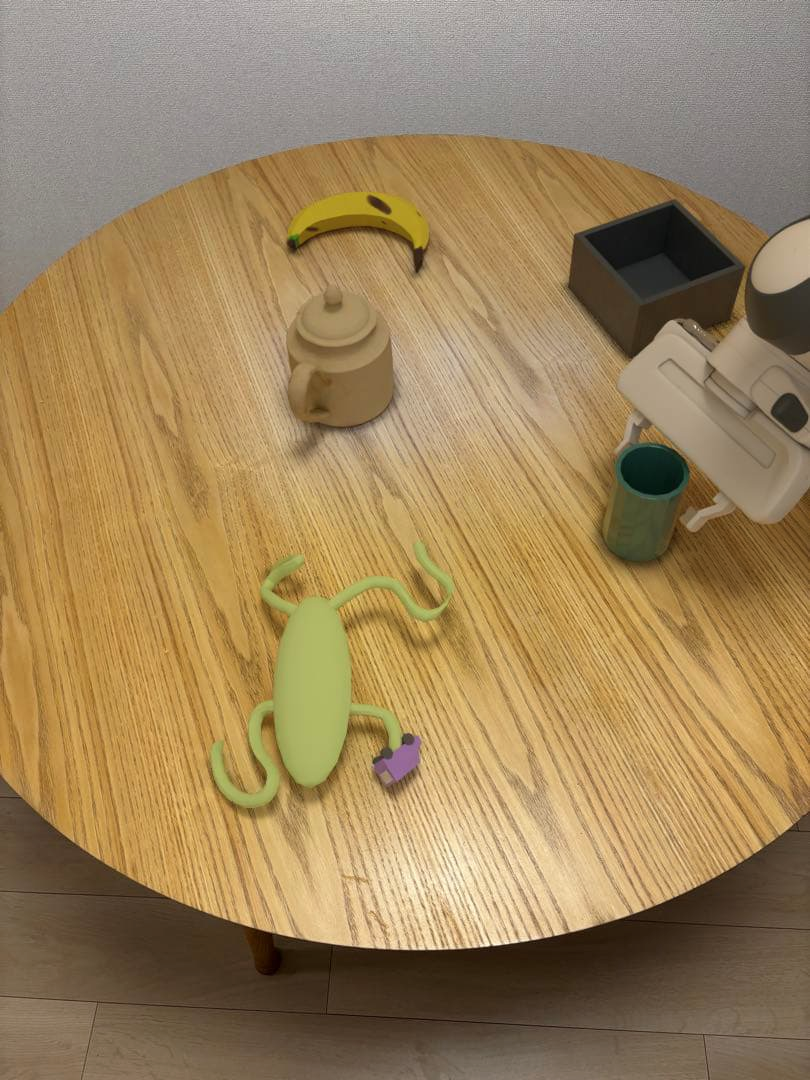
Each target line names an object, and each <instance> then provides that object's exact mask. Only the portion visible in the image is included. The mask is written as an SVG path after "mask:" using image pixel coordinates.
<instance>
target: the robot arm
mask: <svg viewBox="0 0 810 1080" xmlns="http://www.w3.org/2000/svg"><path fill="white" fill-rule="evenodd" d="M744 310H745V313H744V314H743V315H742V317H740V319H739V320H738V321H737V322H736V323H735V324H734V326H733V327H731V328H730V331H728V333H726V335H724V337H723V338H722V339H721V340H720V341H719V340H718V339H717V338H716V337H714V336H713V335H712V334H711V333H709V332H707V331H706V330H705V329H702V328H701V326H700V325H699V324H698V323H697V322H696V321H694V320H692V319H687V320H686V319H681V318H679V319H674V320H670V321H669V322H667V323H666V324H665V325H664V327H663V328H662V329H661V330H660V331H659V332H658V334H657V335H656V336H655V338H654V340H653V342H651V343H650V344H649V345H648V346H647V347H646V348H644V349H643V350H642V351H641V352H640V353H639V354H638V355H635V356H634V357H633V358H632V359H631V360H630V361H629V363H627V365H626V366H625V367H624V368H623V369H622V370H621V371H620V372H619V374H618V375H617V377H616V385H615V389H616V391H617V392H618V393H619V394H620V395H621V396H622V397H623V398H624V399H625V400H626V401H627V402H628V403H629V404H630V405H631V406H632V407H633V408H634V410H633V411H632V412H631V413H630V414H629V415H628V416H627V419H626V423H625V427H624V432H623V437H622V438H623V440H622V441H621V442H620V443H619V444H618V445H617V446H616V447H615V449H614V450H613V455H614V456H615V457H616V459H617V458H618V457H619V456H620V454H621V453H622V452H623V451H624V450H625V449H627V448H629V447H631V446H633V445H635V444H639V441H640V438H641V434H642V432H643V430H649V429H650V428H651V427H652V426H653V427H654V428H655V429H656V430H657V431H658V432H659V433H660V434H661V435H663V437H664V438H666V439H667V440H668V442H670V443H671V444H672V445H673V446H674V447H675V448H676V450H678V451H679V452H680V453H681V454H682V455H683V456H684V457H685V458H686V459H687V460H689V462H690V463H691V464H692V465H694V466H695V468H697V469H698V470H699V471H700V473H702V474H703V475H704V477H706V478H707V479H708V480H709V481H710V482H711V483H712V484H713V485H714V486H716V488H717V489H718V490H719V491H718V492H717V493H716V494H715V495H714V497H713V498H712V501H713V502H714V503H715V504H714V505H710V506H708V507H705V508H701V509H700V508H699V507H696V506H693V505H689V507H688V508H686V509H685V512H684V513H683V514H681V515H680V516H679V517H678V521H679V522H680V523H681V524H682V525H683V526H684V528H686V529H687V530H688V532H691V533H697V532H698V531H700V530H701V528H702V527H703V526H704V525H705V524H706V523H707V522H708V521H709V520H713V519H716V518H720V517H723V516H726V515H729V514H732V513H733V512H734V511H735V510H736V509H737V508H738V509H739V510H740V511H741V512H742V513H743V514H744V515H745V516H746V517H747V518H748V519H749V520H751V521H752V522H754V523H757V524H760V525H763V526H764V525H773V524H774V525H775V524H778V523H779V522H781V521H782V520H783V519H784V518H785V517H786V516H787V515H788V514H789V513H790V512H791V511H792V510H793V509H794V507H795V506H796V505H797V504H798V503H799V501H800V500H801V499H802V498H803V496H804V495H806V493H807V492H808V490H809V489H810V213H809V214H808V215H804V216H802V217H800V218H797V219H796V220H793V221H792V222H790V223H788V224H786V225H785V226H783V227H781V228H780V229H779V230H777V231H776V232H774V233H773V234H772V235H771V236H769V238H767V240H766V241H765V242H764V243H763V244H762V245H761V246H760V247H759V249H758V250H757V252H756V254H755V255H754V256H753V258H752V260H751V263H750V265H749V268H748V271H747V275H746V279H745V286H744ZM678 323H683V327H684V328H683V327H682V326H681V325H679V324H678Z"/></svg>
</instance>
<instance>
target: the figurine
mask: <svg viewBox="0 0 810 1080" xmlns="http://www.w3.org/2000/svg"><path fill="white" fill-rule="evenodd" d="M412 547H413V553H414V555H415V558H416V561H417V562H418V563H419V565H420V566H421V567H422V568H423V569H424V570H425V572H426V573H427V574H428V575H429V576H430V577H431V578H433V579H434V580H436V581H437V582H438V583H439V584H440V586H441V587H442V588H444V590H445V594H446V599H445V600H444V602H442V604H440V606H438V607H435V608H431V609H426V608H423V607H421V606H419V605H418V604H417V602H416V601H415V600H414V599H413V598H412V596H411V595H410V593H409V592H408V590H407V588H406V587H405V586H404V585H403V583H402V582H401V581H399V580H398V579H397V578H395V577H390V576H386V575H370V576H366V577H364V578H361V579H359V580H357V581H355V582H353V583H352V584H350V585H348V586H346V587H345V588H344V589H342V590H341V591H339V592H338V593H336V594H335V595H334V596H331V598H330V599H329V600H328V598H325V597H322V596H319V595H316V594H312V595H310V596H308V597H306V598H304V599H302V600H300V602H299V603H298V604H296V603H294V602H291V601H288V600H286V599H283V598H281V597H280V596H278V594H277V593H275V592H273V591H274V589H275V588H276V586H277V585H278V584H279V583H280V581H282V580H283V579H284V578H285V577H286V576H288V575H290V574H292V573H293V572H295V571H297V570H298V569H300V568H301V567H302V566H303V565H305V564H306V560H307V559H306V557H305V555H303V554H301V553H294V554H292V555H288V556H285V557H282V558H281V559H279V560H277V561H276V562H275V563H274V564H273V565H272V566H271V568H270V570H269V571H270V573H269V574H268V576H267V577H266V578H265V580H264V581H263V583H262V584H261V585H260V587H259V597H260V599H262V600H263V601H264V602H265V603H266V604H267V605H269V606H270V607H271V608H272V609H273V610H275V611H277V612H279V613H282V614H284V615H287V616H289V617H288V619H287V623H286V625H285V628H284V630H283V633H282V636H281V638H280V641H279V643H278V649H277V656H276V661H275V665H274V666H275V667H274V671H273V691H272V692H273V693H272V699H271V698H270V699H265V700H262V701H261V702H260V703H259V704H257V706H255V707H254V708H253V709H252V710H251V713H250V715H249V718H248V720H247V721H248V722H247V736H248V742H249V746H250V748H251V751H252V752H253V754H254V756H255V757H256V759H257V760H258V761H259V762H260V764H261V765H262V766H263V768H264V769H265V772H266V780H265V785H264V787H263V788H262V789H261V790H259V791H256V792H251V793H250V792H249V793H246V792H244V791H242V790H240V789H239V788H237V787H236V786H235V785H234V784H233V782H232V781H231V780H230V778H229V776H228V773H227V771H226V767H225V763H224V757H223V755H224V753H223V752H224V751H223V749H224V744H225V740H223V739H219V740H217V741H215V742H214V743H212V744H211V747H210V752H209V761H210V769H211V768H212V769H211V773H212V776H213V779H214V782H215V784H216V785H217V787H218V789H219V791H220V792H221V794H222V795H223V796H224V797H225V798H226V799H227V800H228V801H230V802H231V803H233V804H234V805H236V806H239V805H240V806H239V807H241V808H244V809H252V808H259V807H261V806H264V805H267V804H270V802H271V801H272V800H273V799H274V797H275V796H276V795H277V793H278V789H279V785H280V781H281V777H280V774H279V770H278V768H277V766H276V764H275V763H274V761H273V760H272V758H271V757H270V755H269V752H268V751H267V749H266V747H265V745H264V741H263V736H262V723H263V720H264V718H265V717H266V716H267V715H268V714H269V713H273V721H274V731H275V738H276V743H277V746H278V749H279V752H280V756H281V758H282V762H283V765H284V767H285V769H286V770H287V771H288V773H289V775H290V776H291V778H292V779H293V780H294V782H295V783H296V784H298V785H301V786H304V787H306V788H309V789H311V788H314V787H316V786H318V785H320V784H322V783H323V782H325V781H326V779H327V778H328V776H329V775H330V773H331V772H332V771H333V769H334V768H335V766H336V764H337V763H338V760H339V758H340V754H341V751H342V749H343V745H344V744H345V743H344V742H345V740H346V736H347V733H348V725H349V719H350V716H356V717H357V716H358V717H359V716H360V717H361V716H362V717H372V718H375V719H379V720H380V721H381V722H382V724H383V725H384V727H385V728H386V732H387V734H388V746H387V747H383V748H381V749H380V751H379V755H377V756H375V757H373V758H372V760H371V762H372V763H371V764H372V765H371V766H370V767H371V769H373V770H374V772H375V773H376V774H377V776H378V778H380V780H381V781H382V783H383V785H384V786H385V787H386V788H387V787H390V786H392V785H394V784H395V783H397V782H399V781H400V780H401V779H403V777H405V776H406V775H407V774H408V773H410V772H411V771H412V770H413V769H414V768H416V767H417V766H418V765H419V764H421V760H420V759H421V758H420V754H419V749H420V747H421V745H422V743H423V742H422V739H421V738H420V736H419V734H417V735H415V736H414V735H413V734H412V733H410V732H407V733H404V734H403V735H402V728H401V725H400V723H399V720H398V718H397V717H396V715H395V714H394V713H393V712H392V710H390V709H387V708H386V707H382V706H380V705H376V704H375V705H374V704H370V703H358V702H353V701H352V663H351V656H350V649H349V643H348V636H347V633H346V631H345V629H344V625H343V622H342V620H341V618H340V615H339V612H337V611H338V610H339V609H340V608H342V607H343V606H344V605H346V604H347V603H348V602H350V601H352V600H353V599H354V598H356V597H358V596H359V595H361V594H363V593H364V592H366V591H369V590H372V589H380V590H381V589H382V590H388V591H391V592H392V593H393V594H394V595H395V596H397V598H398V599H399V601H400V602H401V604H402V605H403V606H404V608H405V610H406V612H407V613H408V614H409V615H410V616H411V617H412V618H413V619H414V620H416V621H419V622H422V623H426V622H432V621H435V620H436V619H437V618H438V617H439V616H440V615H441V614H443V612H444V611H445V609H446V607H447V605H448V603H449V602H450V599H451V597H452V595H453V594H454V591H455V583H454V578H453V577H452V576H451V575H450V574H449V573H447V572H446V571H445V570H442V569H441V568H440V567H439V566H438V565H437V564H436V563H435V562H434V561H433V560H432V559H431V558H430V556H429V554H428V551H427V547H426V544H425V543H424V542H423V541H415V542H413V543H412ZM212 771H213V772H212ZM214 775H215V776H214ZM215 777H216V778H215ZM219 785H220V786H219ZM225 795H226V796H225ZM227 797H228V798H227ZM232 801H233V802H232ZM235 803H236V804H235ZM237 804H238V805H237Z"/></svg>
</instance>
